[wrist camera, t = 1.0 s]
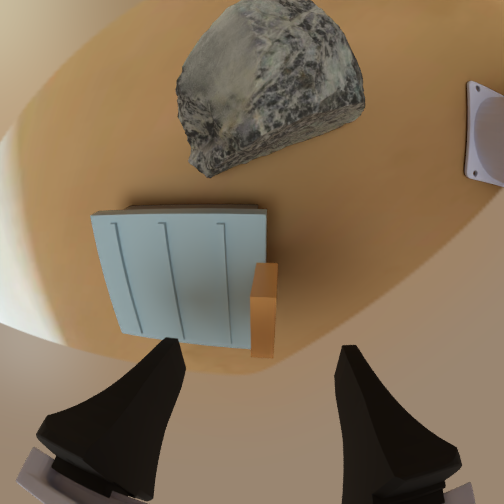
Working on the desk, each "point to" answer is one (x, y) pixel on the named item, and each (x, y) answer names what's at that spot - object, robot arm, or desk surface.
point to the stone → (265, 83)
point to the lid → (190, 275)
